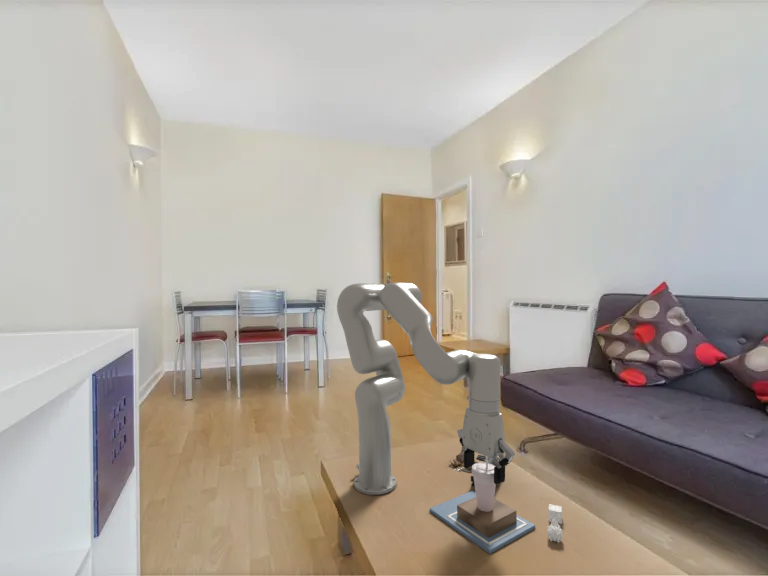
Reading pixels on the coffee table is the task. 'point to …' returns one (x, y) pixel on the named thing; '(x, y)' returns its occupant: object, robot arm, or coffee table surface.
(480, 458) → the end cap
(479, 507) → the smoothie
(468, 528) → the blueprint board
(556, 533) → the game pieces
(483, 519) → the plinth
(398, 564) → the coffee table surface
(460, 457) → the frog figurine
